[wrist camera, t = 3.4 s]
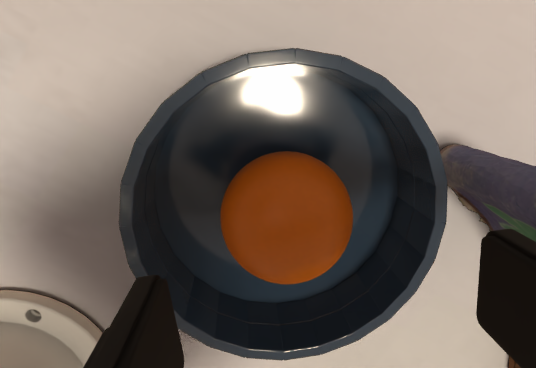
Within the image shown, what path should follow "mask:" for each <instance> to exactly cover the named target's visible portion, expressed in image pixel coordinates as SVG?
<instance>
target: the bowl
mask: <svg viewBox="0 0 536 368" xmlns="http://www.w3.org/2000/svg"><path fill="white" fill-rule="evenodd" d="M283 151H291V152H299V153H304V154H307V155H310V156H312V157H314V158H316V159H318V160H320V161H322V162H323V163H325V164H326V165H327V166H329V167H330V168H331V169H332V170H333V171H334V172H335V173H336V174H337V175H338V177H339V178H340V179H341V181H342V182H343V184H344V186H345V187H346V189H347V192H348V194H349V197H350V200H351V204H352V210H353V226H352V233H351V236H350V240H349V242H348V244H347V247H346V249H345V251H344V252H343V254H342V256H341V257H340V258H339V260H338V261H337V262H336V263H335V264H334V265H333V266H332V267H331V268H330V269H329V270H327V271H326V272H325V273H323V274H322V275H320V276H318V277H316V278H314V279H312V280H309V281H306V282H302V283H297V284H276V283H271V282H268V281H265V280H262V279H260V278H258V277H256V276H254V275H252V274H251V273H249V272H248V271H246V270H245V269H244V268H243V267H242V266H241V265H240V264H239V263H238V262H237V261H236V260H235V259H234V257H233V256H232V255H231V253H230V251H229V249H228V248H227V245H226V243H225V240H224V238H223V234H222V230H221V221H220V214H221V205H222V200H223V198H224V195H225V192H226V190H227V188H228V186H229V184H230V182H231V181H232V179H233V178H234V176H235V175H236V174H237V173H238V172H239V171H240V170H241V169H242V168H243V167H244V166H245V165H247V164H248V163H250V162H251V161H253V160H254V159H257V158H259V157H261V156H263V155H266V154H269V153H274V152H283ZM447 186H448V184H447V178H446V174H445V170H444V165H443V161H442V157H441V153H440V149H439V145H438V143H437V141H436V139H435V137H434V136H433V134H432V132H431V131H430V129H429V127H428V125H427V124H426V122H425V120H424V119H423V117H422V115H421V113H420V112H419V110H418V108H417V107H416V106H415V105H414V104H413V103H412V102H411V101H410V100H409V99H408V98H407V97H406V96H405V95H404V94H402V93H401V92H400V91H399V90H398V89H397V88H396V87H395V86H394V85H393V84H392V83H391V82H390V81H388V80H387V79H386V78H385V77H383V76H382V75H380V74H378V73H376V72H374V71H372V70H370V69H368V68H366V67H364V66H362V65H360V64H358V63H356V62H354V61H352V60H350V59H348V58H345V57H342V56H339V55H334V54H328V53H322V52H316V51H310V50H304V49H299V48H296V49H295V48H290V49H281V50H272V51H263V52H254V53H248V54H247V55H246V54H244V55H241V56H239V57H236V58H234V59H231V60H229V61H227V62H224V63H222V64H219V65H217V66H214V67H212V68H210V69H207V70H205V71H202V72H201V73H199V74H198V75H196V76H195V77H194V78H193V79H191V80H190V81H189V82H188V83H186V84H185V85H184V86H183V87H181V88H180V89H179V90H177V91H176V92H175V93H174V94H172V95H171V96H170V97H169V98H167V99H166V100H165V101H164V102H163V103H162V104H161V105H160V106H159V108H158V109H157V111H156V112H155V113H154V115H153V116H152V118H151V119H150V120H149V122H148V123H147V125H146V126H145V127H144V129H143V130H142V132H141V133H140V134H139V136H138V137H137V139H136V141H135V143H134V146H133V149H132V151H131V154H130V157H129V160H128V163H127V166H126V169H125V172H124V175H123V178H122V180H121V186H120V209H119V228H120V232H121V236H122V241H123V245H124V249H125V253H126V257H127V261H128V264H129V267H130V269H131V270H132V272H133V274H134V276H135V277H136V279H137V278H138V277H143V276H150V275H159V276H160V278H161V279H166V280H167V282H168V286H169V291H170V296H171V300H172V305H173V309H174V314H175V318H176V323H177V327H178V329H179V330H181V331H183V332H185V333H186V334H188V335H190V336H191V337H193V338H195V339H197V340H198V341H200V342H202V343H203V344H205V345H207V346H210V347H211V348H214V349H218V350H221V351H224V352H228V353H231V354H234V355H238V356H241V357H244V358H245V357H246V358H255V359H270V360H283V359H284V360H290V359H296V358H303V357H310V356H316V355H320V354H325V353H327V352H330V351H332V350H335V349H338V348H340V347H343V346H346V345H348V344H351V343H353V342H356V341H358V340H359V339H361V338H362V337H364V336H366V335H367V334H369V333H370V332H372V331H373V330H375V329H376V328H378V327H379V326H381V325H382V324H384V323H385V322H387V321H388V320H390V319H391V318H392V316H393V315H394V314H395V313H396V312H397V311H398V310H399V309H400V308H401V307H402V306H403V305H404V304H405V303H406V302H407V301H408V300H409V299H410V298H411V297H412V296H413V295H414V294H415V292H416V291H417V289H418V288H419V286H420V284H421V283H422V281H423V279H424V278H425V276H426V274H427V273H428V271H429V269H430V268H431V266H432V264H433V263H434V261H435V260H434V259H435V258H436V255H437V252H438V248H439V245H440V242H441V238H442V235H443V232H444V228H445V225H446V216H447Z"/></svg>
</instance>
